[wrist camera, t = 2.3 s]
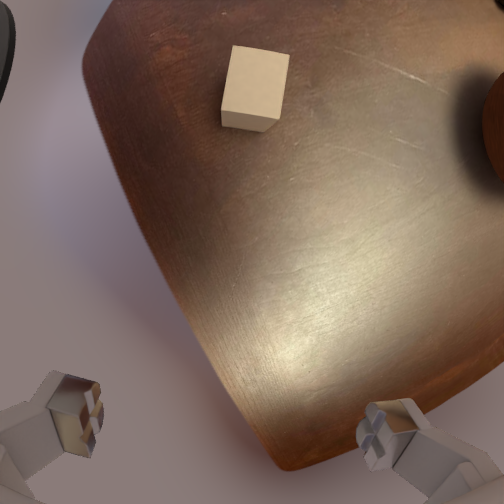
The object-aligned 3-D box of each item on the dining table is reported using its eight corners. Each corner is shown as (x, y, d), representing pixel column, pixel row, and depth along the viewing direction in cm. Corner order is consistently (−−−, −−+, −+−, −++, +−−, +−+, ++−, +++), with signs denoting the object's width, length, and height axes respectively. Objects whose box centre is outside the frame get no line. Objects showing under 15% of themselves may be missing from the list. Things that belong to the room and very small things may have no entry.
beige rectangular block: (221, 126, 29) (220, 110, 20) (230, 77, 27) (233, 45, 19) (263, 132, 29) (279, 119, 20) (271, 84, 28) (289, 54, 19)
